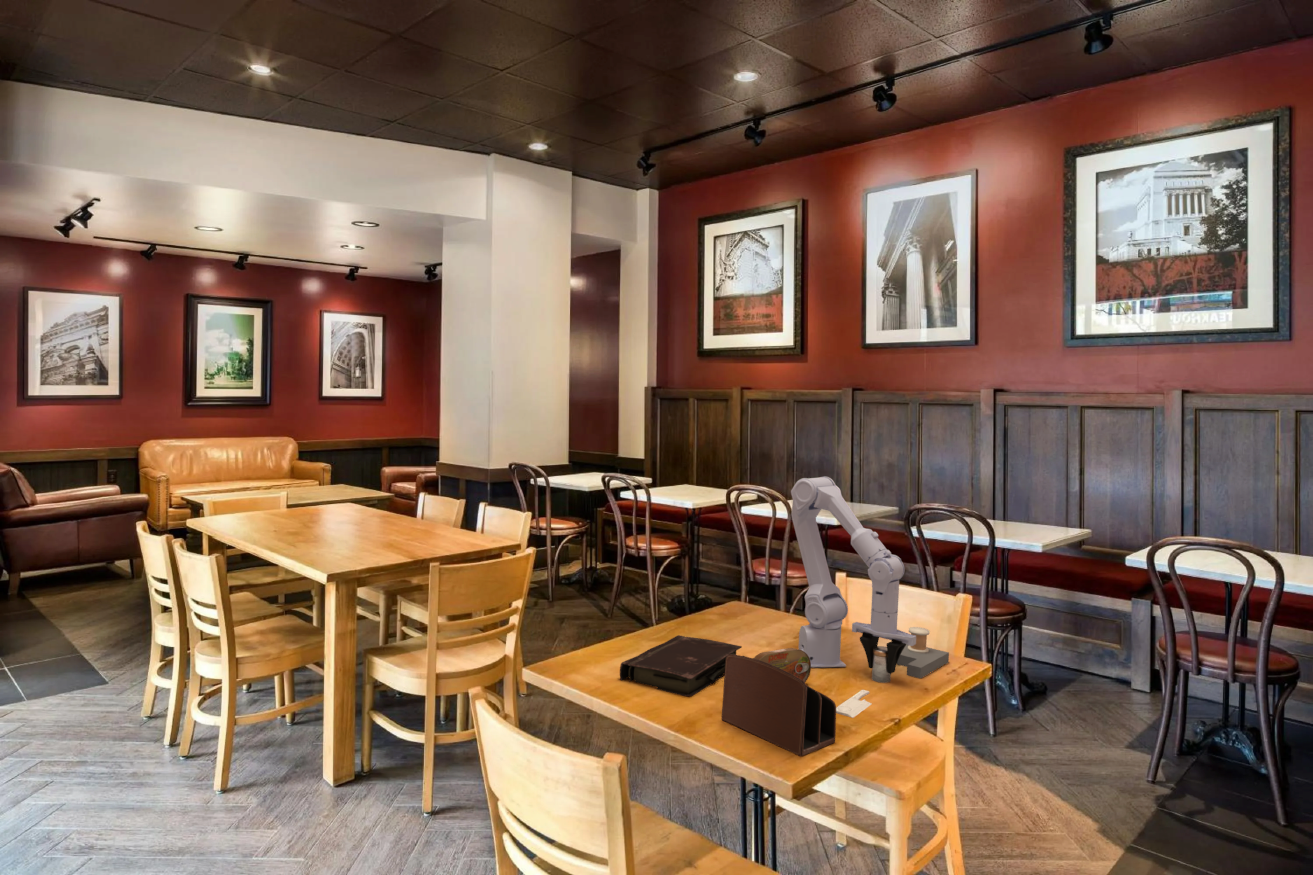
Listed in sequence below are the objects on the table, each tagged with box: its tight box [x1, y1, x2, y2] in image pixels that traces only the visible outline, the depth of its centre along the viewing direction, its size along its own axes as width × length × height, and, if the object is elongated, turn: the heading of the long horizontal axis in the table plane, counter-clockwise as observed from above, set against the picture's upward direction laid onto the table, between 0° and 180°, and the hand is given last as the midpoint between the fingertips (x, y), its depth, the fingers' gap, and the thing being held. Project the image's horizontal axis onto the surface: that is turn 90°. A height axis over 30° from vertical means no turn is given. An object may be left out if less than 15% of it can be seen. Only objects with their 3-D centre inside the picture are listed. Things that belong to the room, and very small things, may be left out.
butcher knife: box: [836, 689, 872, 719], centre depth 167 cm, size 5×15×1 cm, turn 143°
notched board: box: [896, 626, 950, 679], centre depth 193 cm, size 16×12×8 cm
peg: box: [871, 645, 892, 684], centre depth 182 cm, size 4×4×7 cm
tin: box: [753, 647, 812, 683], centre depth 175 cm, size 15×3×8 cm, turn 117°
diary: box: [619, 634, 743, 697], centre depth 183 cm, size 19×25×5 cm
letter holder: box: [721, 654, 837, 757], centre depth 152 cm, size 10×20×14 cm, turn 41°
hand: (881, 669), depth 182 cm, fingers closed on peg, 4 cm apart
